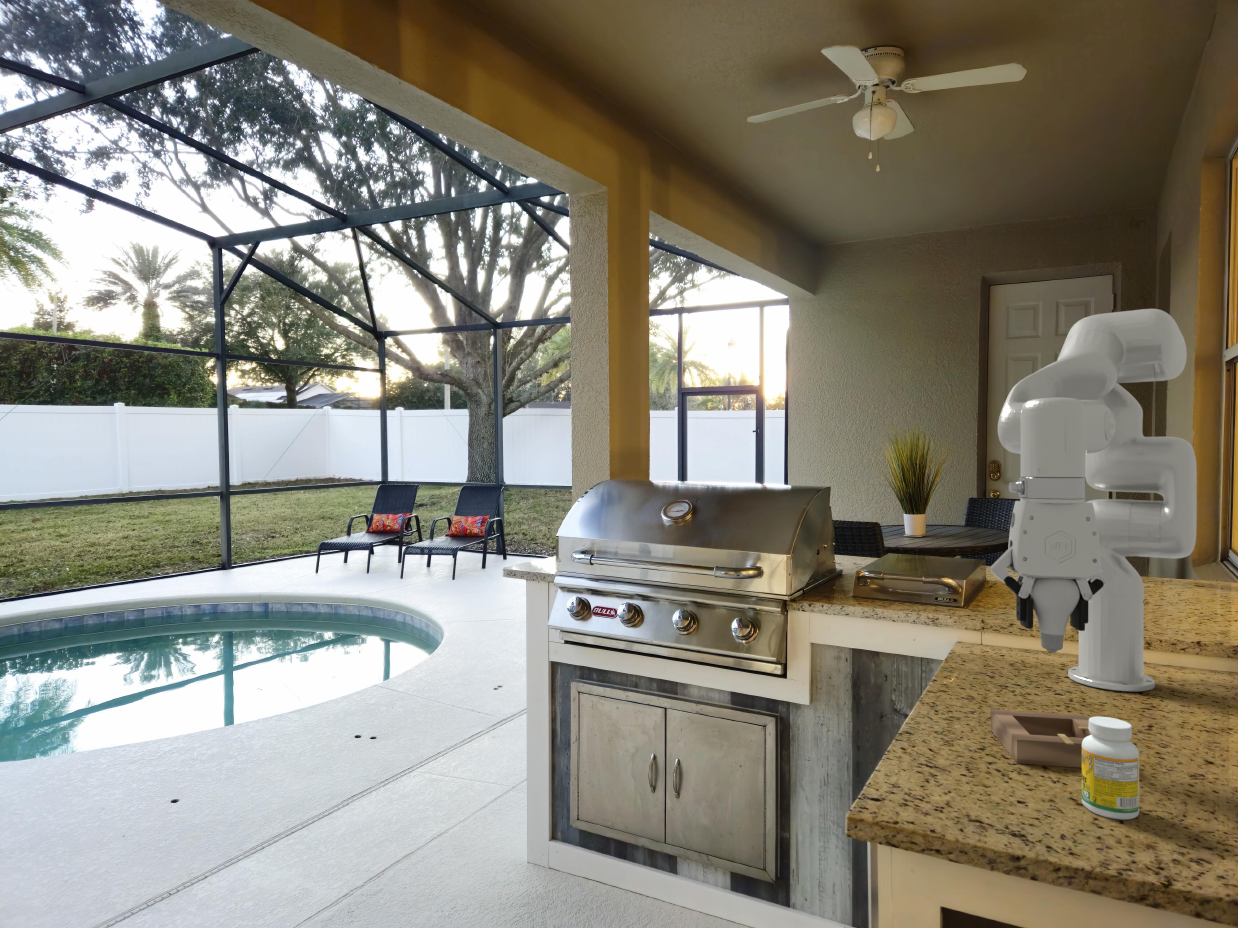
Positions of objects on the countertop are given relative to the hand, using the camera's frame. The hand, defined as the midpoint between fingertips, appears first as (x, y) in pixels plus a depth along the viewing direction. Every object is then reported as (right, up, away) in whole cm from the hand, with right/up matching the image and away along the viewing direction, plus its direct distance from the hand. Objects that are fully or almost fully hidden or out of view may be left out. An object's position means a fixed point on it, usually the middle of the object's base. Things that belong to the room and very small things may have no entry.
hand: (1051, 626), depth 102 cm
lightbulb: (0, -4, 0) cm, 4 cm away
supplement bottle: (-3, -17, -18) cm, 24 cm away
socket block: (0, -16, 0) cm, 16 cm away
